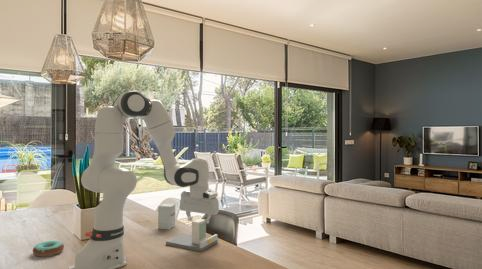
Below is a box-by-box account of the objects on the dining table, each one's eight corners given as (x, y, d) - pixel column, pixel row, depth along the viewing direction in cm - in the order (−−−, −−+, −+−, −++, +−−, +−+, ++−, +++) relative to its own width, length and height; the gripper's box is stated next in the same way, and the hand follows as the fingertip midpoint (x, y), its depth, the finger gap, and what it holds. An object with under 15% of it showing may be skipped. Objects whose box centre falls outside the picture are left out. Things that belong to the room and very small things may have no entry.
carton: (198, 239, 164) (198, 218, 164) (206, 240, 162) (206, 219, 162) (191, 242, 158) (191, 221, 158) (199, 244, 156) (199, 222, 156)
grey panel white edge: (202, 251, 151) (202, 242, 151) (165, 244, 160) (166, 236, 160) (217, 242, 163) (217, 234, 163) (183, 236, 172) (183, 228, 172)
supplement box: (170, 229, 184) (170, 206, 184) (157, 228, 186) (157, 205, 185) (175, 226, 191) (175, 203, 191) (163, 225, 193) (163, 203, 193)
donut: (56, 246, 157) (56, 237, 157) (68, 252, 150) (68, 243, 149) (28, 253, 147) (28, 244, 147) (39, 260, 140) (39, 250, 140)
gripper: (177, 191, 161) (176, 220, 161) (213, 195, 152) (213, 226, 152) (185, 189, 167) (184, 217, 167) (220, 193, 158) (220, 223, 158)
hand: (198, 221), depth 159 cm, fingers open, 8 cm apart
